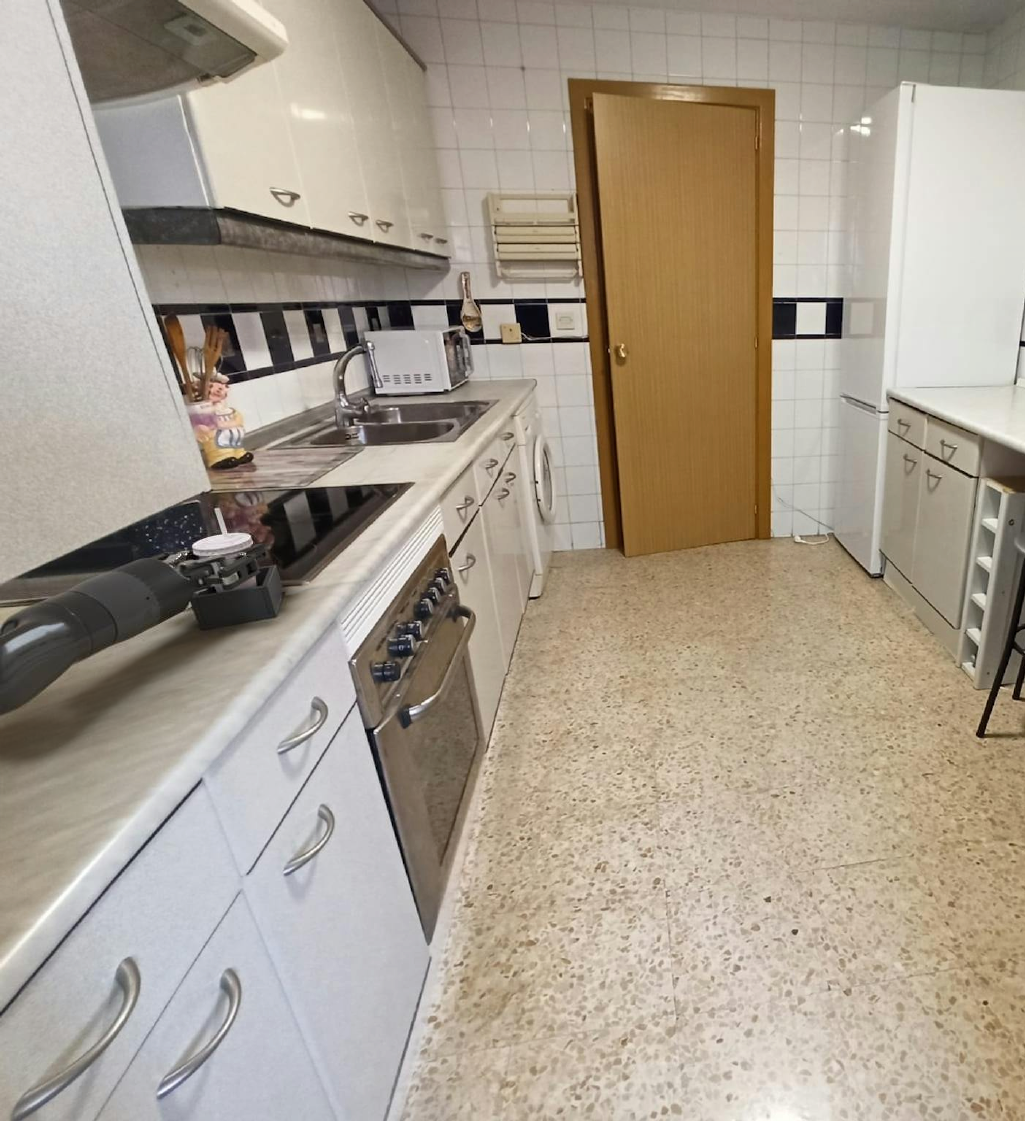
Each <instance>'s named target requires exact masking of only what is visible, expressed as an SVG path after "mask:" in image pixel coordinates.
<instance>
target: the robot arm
mask: <svg viewBox="0 0 1025 1121" xmlns="http://www.w3.org/2000/svg"><path fill="white" fill-rule="evenodd" d="M269 556H270V555H269V552H268V549H267V545H266V544H265V543H257V544H254V545H251V547H250V548H247V549H245V550H243V551H241V552H239V553H236V554H232V555H229V556H225V557H223V556H221V555H214V556H211V557H207V558H203V559H200V558H199V556H198V555H195V554H194V553H193V549H191V550H181V551H179V552H177V553H175V554H174V553H173V552H172V551H165V552H162V553H160V554H156V555H154V556H151V557H149V558H148V557H145V558H139V559H137V560H133V561H131V562H129V563H126V564H124V565H121V566H119V567H116V568H113V569H111V570H109V571H106V572H103V573H102V574H99V575H96V576H94V577H91V578H89V579H87V580H84V581H82V582H80V583H78V584H76V585H74V586H73V587H71V588H69V589H67V590H65V591H63V592H61V593H58V594H55V595H54V596H51V597H49V598H46V599H44V600H42V601H38V602H37V603H34V604H32V605H28V606H27V607H24V608H23V609H20V610H19V611H17V612H15V613H13V614H12V615H10V616H9V617H7V618H6V619H5V620H4V621H3V622H2V624H1V625H0V717H3V716H5V715H8V714H10V713H11V712H15V711H17V710H18V709H19V708H22V707H24V706H25V705H26V704H28V703H30V702H31V701H32V700H34V699H35V698H36V697H37V696H39V695H40V694H42V692H44V691H45V690H46V689H47V688H49V687H50V686H51V685H52V684H53V683H54V682H55V681H57V680H58V679H59V678H60V677H62V676H63V675H64V674H65V673H66V672H67V671H68V670H69V669H70V668H71V667H72V666H75V665H77V664H79V663H81V662H84V661H85V660H87V659H89V658H91V657H93V656H95V655H96V654H99V653H100V652H102V651H105V650H106V649H108V648H110V647H113V646H116V645H119V644H121V643H124V642H126V641H128V640H131V639H133V638H135V637H137V636H139V635H142V634H143V633H145V632H147V631H148V630H151V629H152V628H154V627H156V626H158V625H160V624H162V623H164V622H166V621H169V619H171V618H174V617H175V616H178V615H180V614H181V613H182V612H185V610H186V609H187V608H188V607H189V605H190V600H191V597H192V595H193V594H194V593H198V592H202V591H205V590H206V589H207V588H209V587H212V586H215V585H222V588H223V590H225V591H226V590H232V589H234V588H236V587H237V586H239V585H240V584H242V583H244V582H245V581H247V580H249V579H250V578H252V577H254V576H255V575H257V574H259V573H260V571H259V567H260V566H259V565H258V564H260V563H262V562H263V561H265V560H268V558H269ZM234 560H236V561H235V562H233V563H231V564H229V565H228V563H229V562H231V561H234ZM215 562H216V563H217V566H218V569H219V570H218V571H217V573H218V574H215V571H214V568H213V566H212V564H211V563H215Z"/></svg>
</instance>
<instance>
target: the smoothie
mask: <svg viewBox="0 0 1025 1121" xmlns="http://www.w3.org/2000/svg"><path fill="white" fill-rule="evenodd" d="M213 511H214V512H215V515H216V519H217V522H218V525H219V528H220V531H221V534H216V535H212V536H207V537H205V538H202V539H200V540H197V541H195V542H194V543H193V544H192V545H191V548H192V550H193V553H194V554H195V555H198V556H199V558H200V559H203V558H207V557H211V556H214V555H221V556H223V557H225V556H229V555H232V554H236V553H239V552H241V551H243V550H245V549H247V548H250V547H252V546H253V543H254V541H253V539H252V535H250V534H249V533H245V532H231V533H229V532H228V531H227V527H226V524H225V520H224V518H223V515H222V514H223V513H222V512H221V508H220V507H216V508H214V510H213ZM235 561H236V560H234V561H231V562H229V563H228V565H229V564H231V563H233V562H235ZM211 564H212V566H213V568H214V571H215V574H218V573H217V571H218V570H219V569H218V566H217V563H216V562H215V563H211ZM214 587H215V589H216V591H217V593H219V592H226V591H232V590H238V589H245V588H251V587H257V584H256V577H255V576H254V577H252V578H250V579H249V580H247V581H245V582H244V583H242V584H240V585H239V586H237V587H236V588H234V589H232V590H226V591H225V590H223V588H222V585H215V586H214Z"/></svg>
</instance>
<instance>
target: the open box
mask: <svg viewBox="0 0 1025 1121" xmlns="http://www.w3.org/2000/svg"><path fill="white" fill-rule="evenodd" d="M258 567H259V571H260V573H259V574H257V575H255V577H256V584H257V587H251V588H245V589H238V590H232V591H226V592H219V593H217V591H216V589H215V587H214V586H212V587H209V588H207V589H206V590H205V591H202V592H198V593H194V594H193V595H192V597H191V600H190V602H189V604H190V605H191V609H192V611H193V614H194V617H195V619H196V623H197V624H198V628H199V630H200V631H205V630H210V629H215V628H221V627H226V626H233V625H239V624H244V623H249V622H256V621H261V620H267V619H272V618H273V619H274V618H277V617H278V614H279V611H280V608H281V604H282V602H283V599H284V596H285V591H284V587H283V583H282V580H281V577H280V573H279V571H278V567H277V564H272V565H264V566H258Z"/></svg>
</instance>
